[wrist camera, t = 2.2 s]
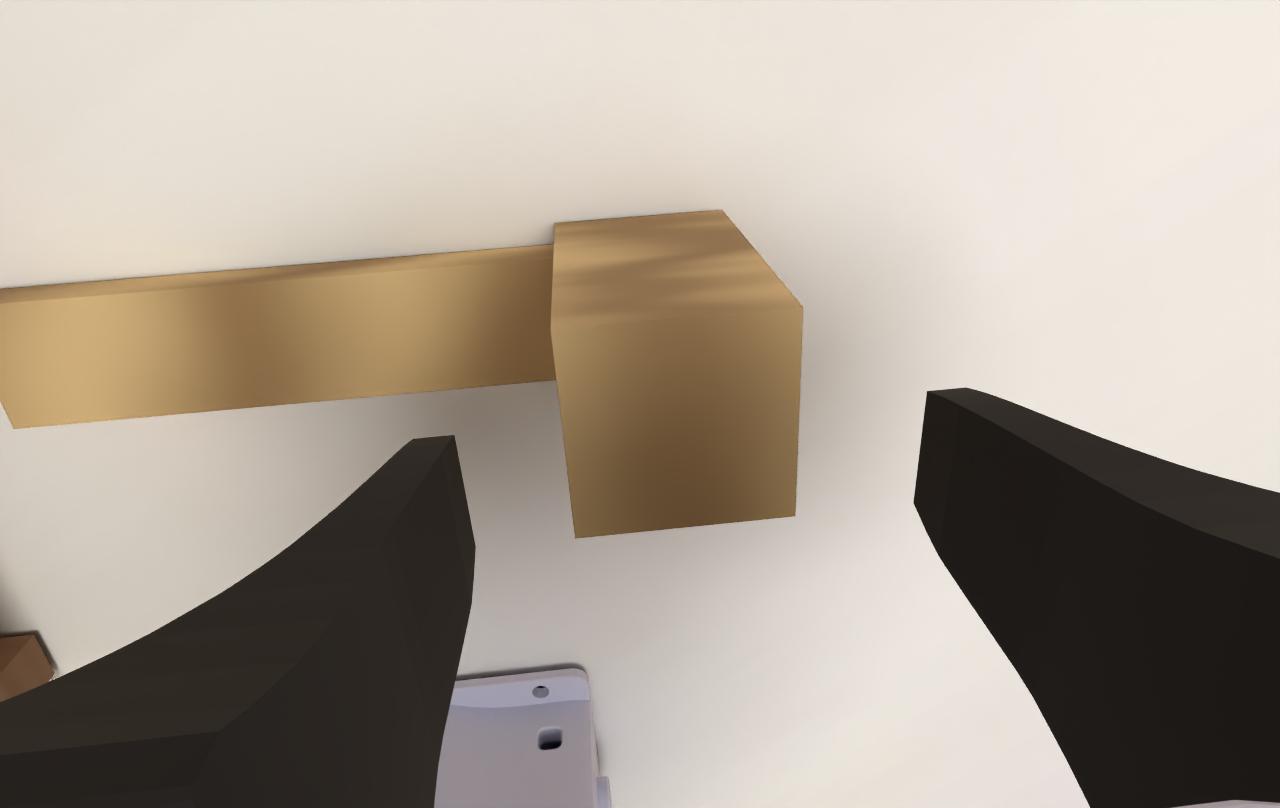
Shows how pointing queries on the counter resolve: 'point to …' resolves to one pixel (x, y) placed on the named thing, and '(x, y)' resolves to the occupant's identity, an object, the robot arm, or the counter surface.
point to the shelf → (22, 666)
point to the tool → (468, 354)
